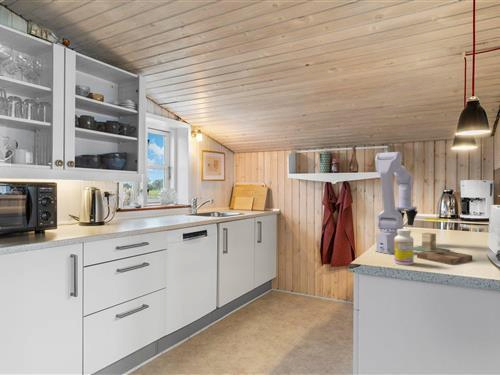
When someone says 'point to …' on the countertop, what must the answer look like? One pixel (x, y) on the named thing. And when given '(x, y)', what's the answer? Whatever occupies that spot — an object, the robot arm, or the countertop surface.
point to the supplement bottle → (404, 247)
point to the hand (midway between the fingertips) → (405, 225)
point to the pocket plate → (444, 256)
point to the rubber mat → (428, 250)
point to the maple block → (428, 241)
